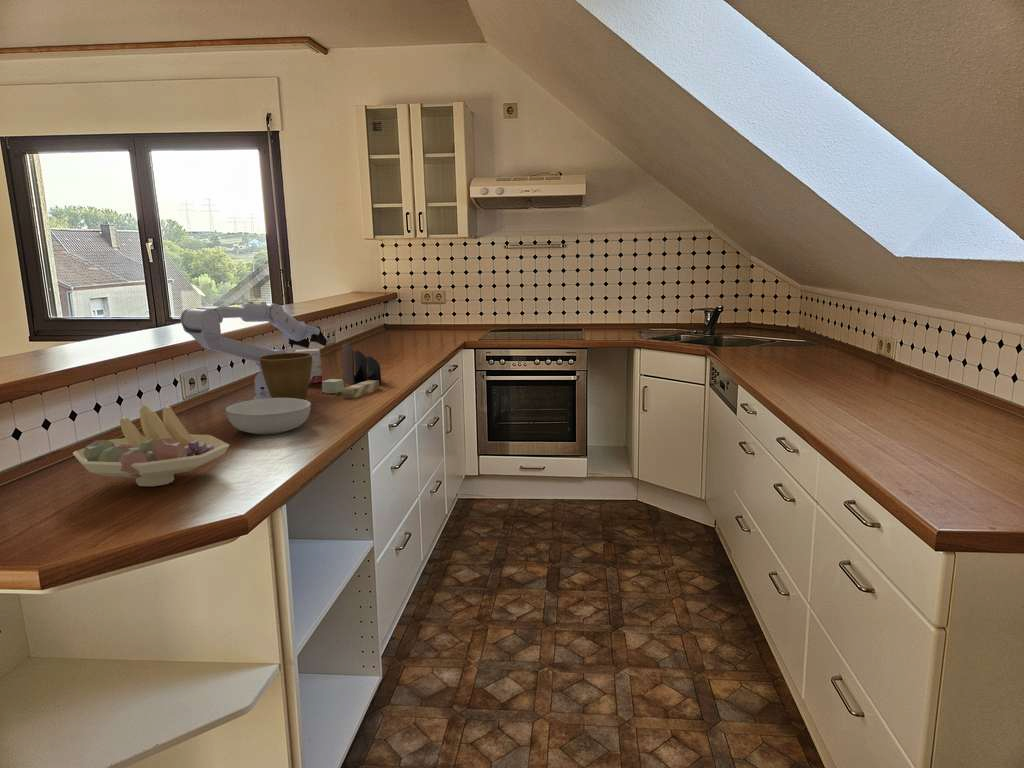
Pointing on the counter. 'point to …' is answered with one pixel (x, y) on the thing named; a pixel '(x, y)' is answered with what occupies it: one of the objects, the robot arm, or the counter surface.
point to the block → (332, 386)
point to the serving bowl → (268, 415)
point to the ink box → (314, 364)
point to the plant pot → (287, 374)
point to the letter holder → (359, 366)
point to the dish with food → (151, 450)
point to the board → (360, 389)
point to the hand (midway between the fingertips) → (317, 344)
